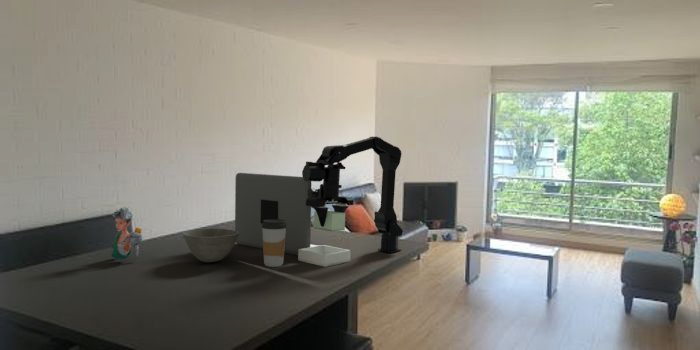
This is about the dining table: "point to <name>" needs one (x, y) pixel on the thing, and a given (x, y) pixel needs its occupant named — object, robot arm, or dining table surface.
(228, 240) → the bowl
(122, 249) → the character figurine
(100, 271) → the dining table surface
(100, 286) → the dining table surface
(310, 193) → the robot arm
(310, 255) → the big crate
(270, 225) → the coffee cup
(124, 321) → the dining table surface
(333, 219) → the small crate
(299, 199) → the laptop
